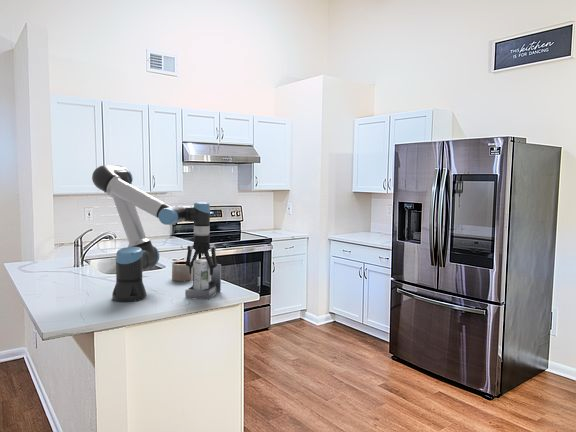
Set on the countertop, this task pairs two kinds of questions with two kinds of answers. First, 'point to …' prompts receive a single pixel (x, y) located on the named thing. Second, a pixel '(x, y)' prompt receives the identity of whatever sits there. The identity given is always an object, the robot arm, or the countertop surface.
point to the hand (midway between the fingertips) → (201, 280)
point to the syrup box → (200, 274)
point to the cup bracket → (213, 286)
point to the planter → (180, 271)
